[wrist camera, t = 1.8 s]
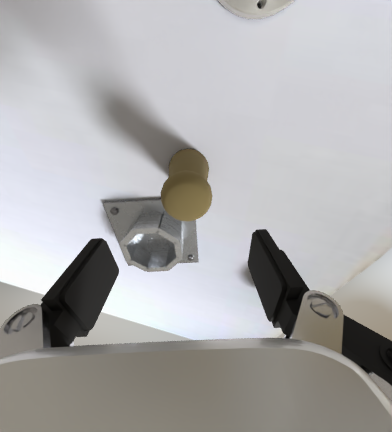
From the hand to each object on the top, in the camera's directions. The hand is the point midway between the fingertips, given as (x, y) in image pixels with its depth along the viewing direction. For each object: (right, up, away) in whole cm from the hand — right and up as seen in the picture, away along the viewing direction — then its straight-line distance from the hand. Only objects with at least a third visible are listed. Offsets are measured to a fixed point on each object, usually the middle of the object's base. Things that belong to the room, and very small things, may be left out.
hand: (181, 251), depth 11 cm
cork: (0, +9, +14) cm, 17 cm away
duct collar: (-6, -1, +20) cm, 21 cm away
